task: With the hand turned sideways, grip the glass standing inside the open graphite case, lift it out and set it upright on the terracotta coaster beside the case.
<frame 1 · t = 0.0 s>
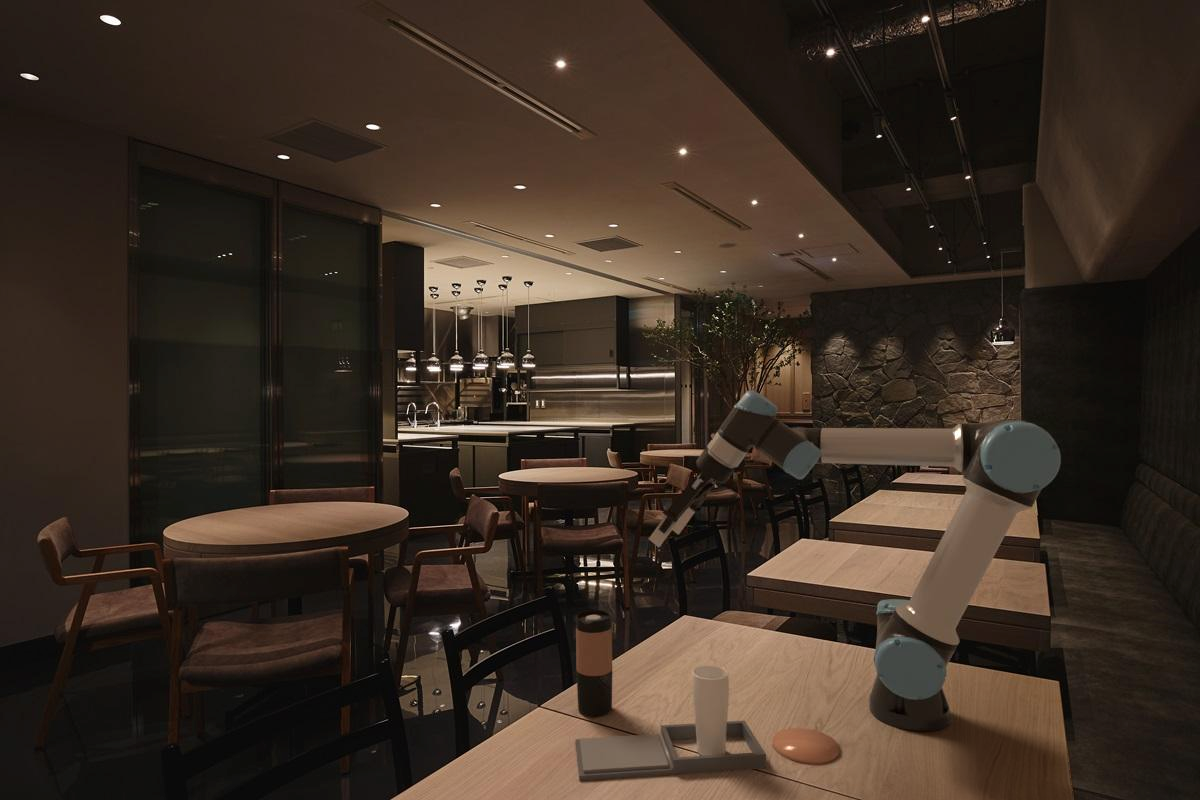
hand: (664, 536, 147), 36 cm above the table, tool tilted 35°, fingers open, 13 cm apart
open case: (711, 752, 126), on the table
travel mug: (595, 710, 144), on the table
coaster: (805, 746, 128), on the table
drinking glass: (711, 753, 126), resting in open case
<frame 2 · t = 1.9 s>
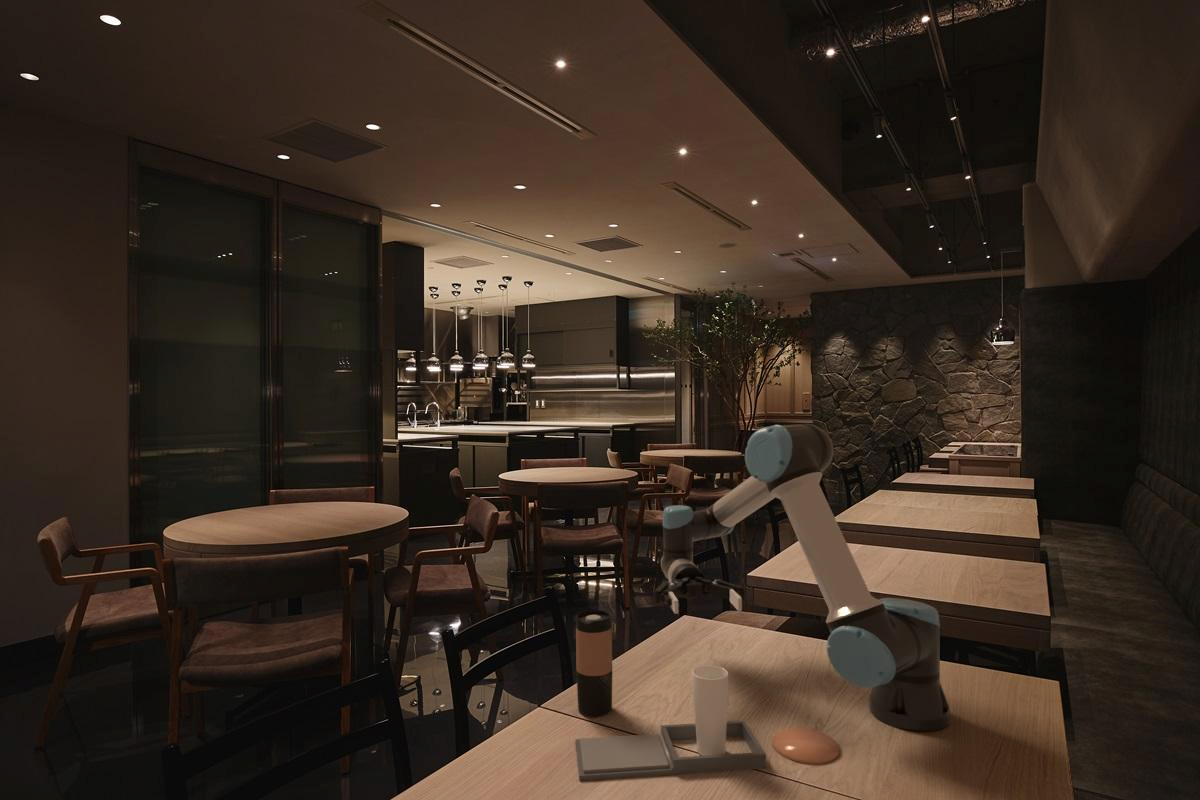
hand: (708, 605, 143), 22 cm above the table, tool horizontal, fingers open, 13 cm apart
nothing on the table moved.
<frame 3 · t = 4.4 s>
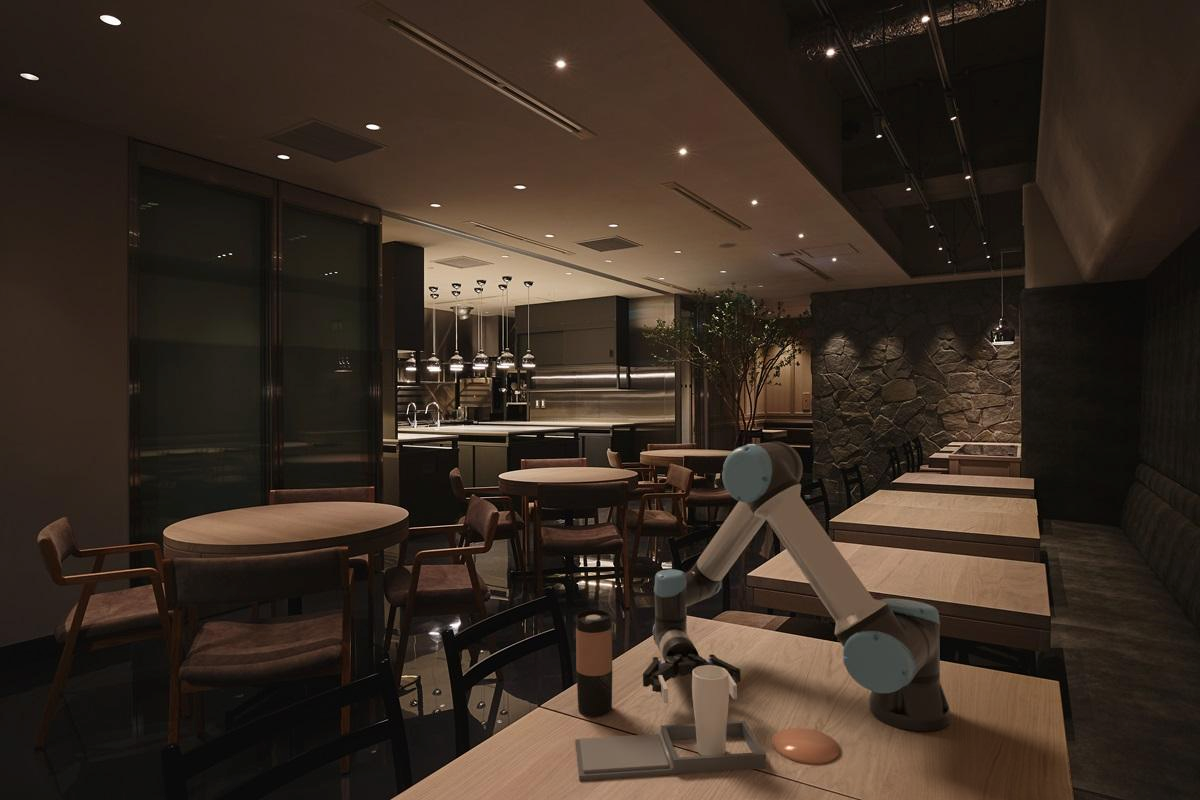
hand: (700, 694, 132), 8 cm above the table, tool horizontal, fingers open, 13 cm apart
nothing on the table moved.
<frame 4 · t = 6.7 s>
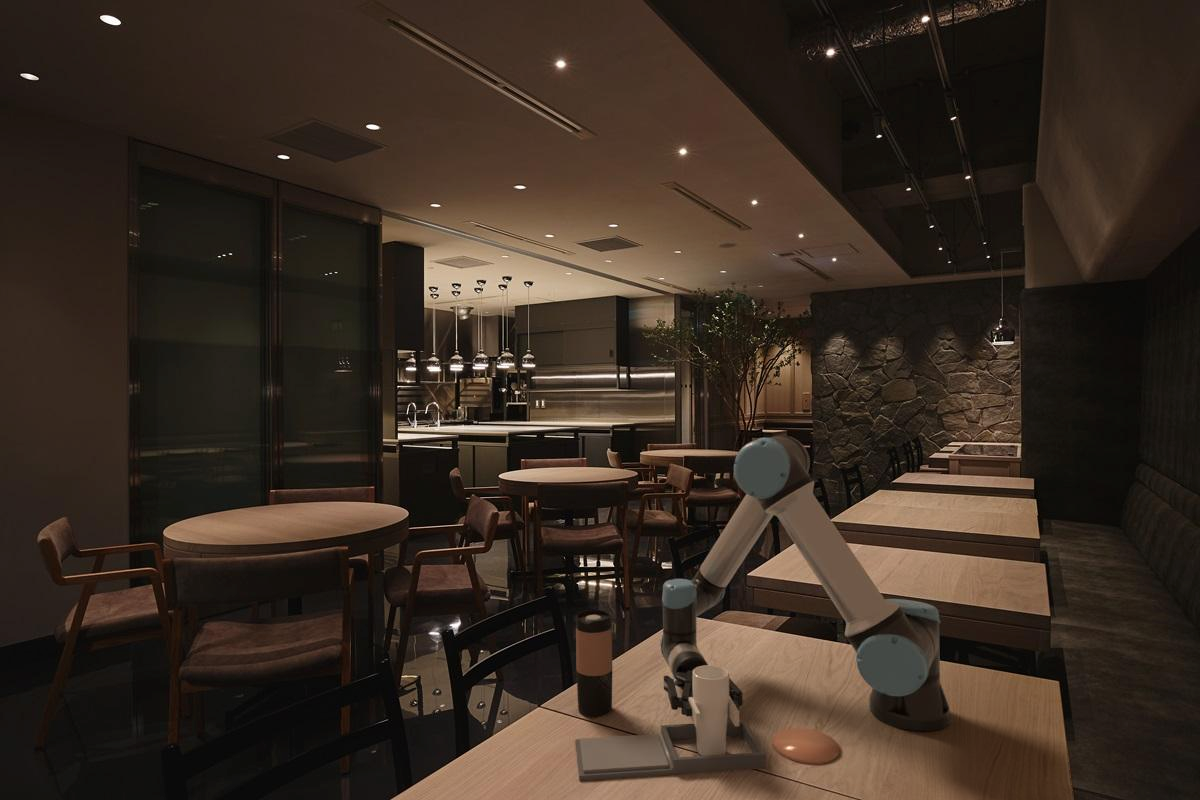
hand: (717, 719, 121), 9 cm above the table, tool horizontal, fingers closed on drinking glass, 6 cm apart
drinking glass: (711, 753, 126), resting in open case, touching gripper
everything else where it was.
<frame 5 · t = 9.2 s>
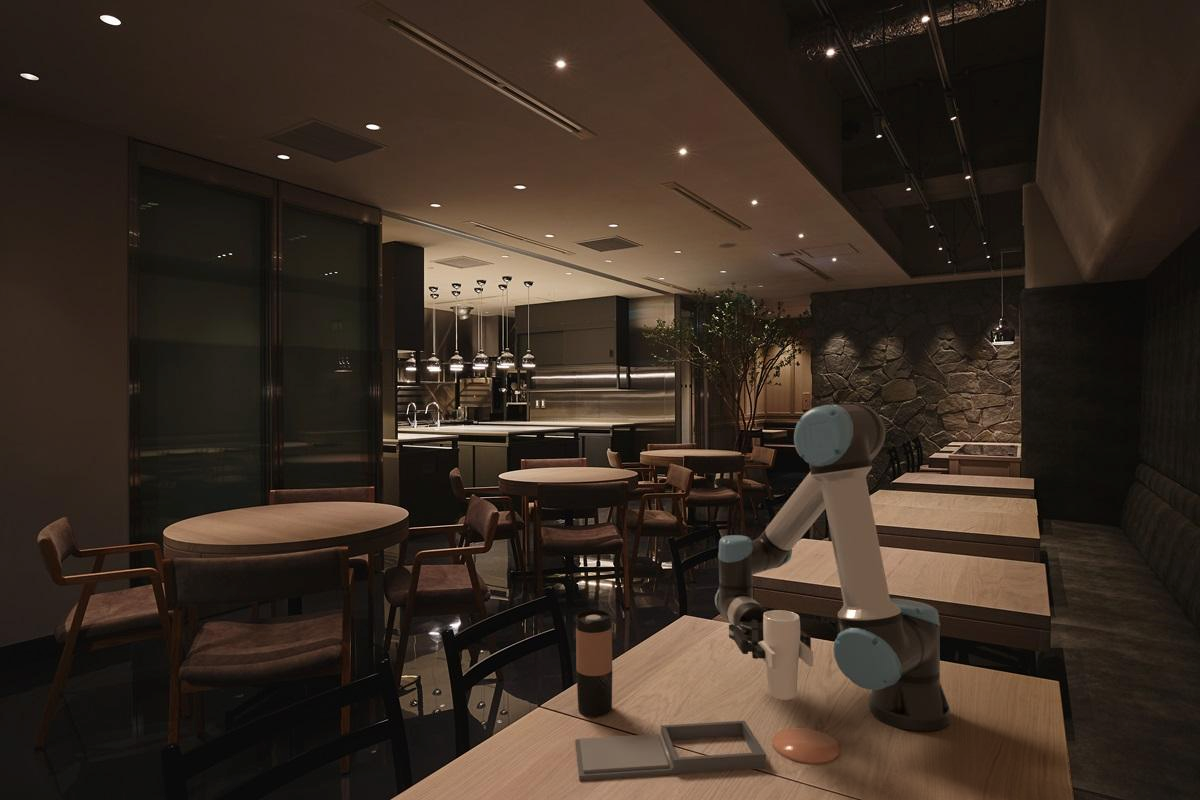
hand: (792, 660, 123), 18 cm above the table, tool horizontal, fingers closed on drinking glass, 6 cm apart
drinking glass: (782, 696, 128), point 9 cm above the table, touching gripper
everything else where it was.
when the fingers open (10 cm above the table, at t = 11.9 s): drinking glass drops 1 cm, resting on coaster.
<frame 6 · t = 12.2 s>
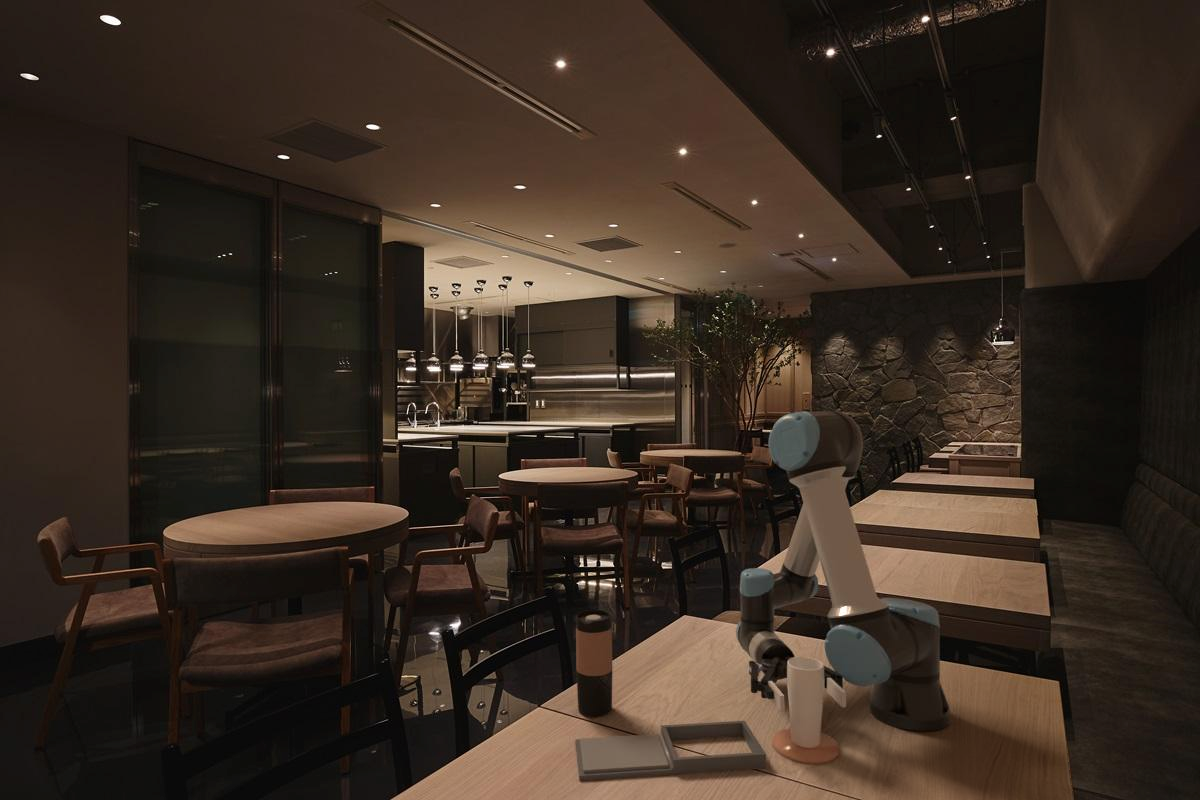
hand: (813, 701, 124), 10 cm above the table, tool horizontal, fingers open, 11 cm apart
drinking glass: (805, 743, 128), resting on coaster
everything else where it was.
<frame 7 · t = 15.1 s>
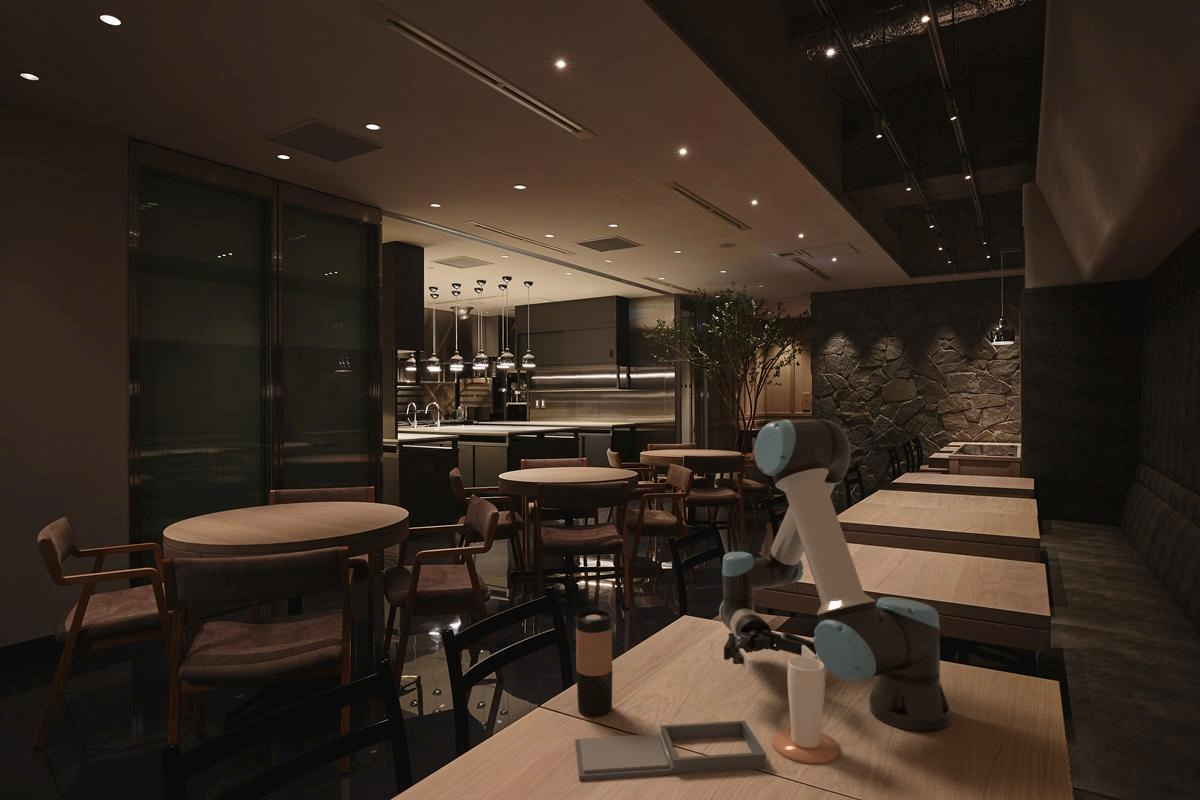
hand: (783, 665, 138), 11 cm above the table, tool horizontal, fingers open, 13 cm apart
nothing on the table moved.
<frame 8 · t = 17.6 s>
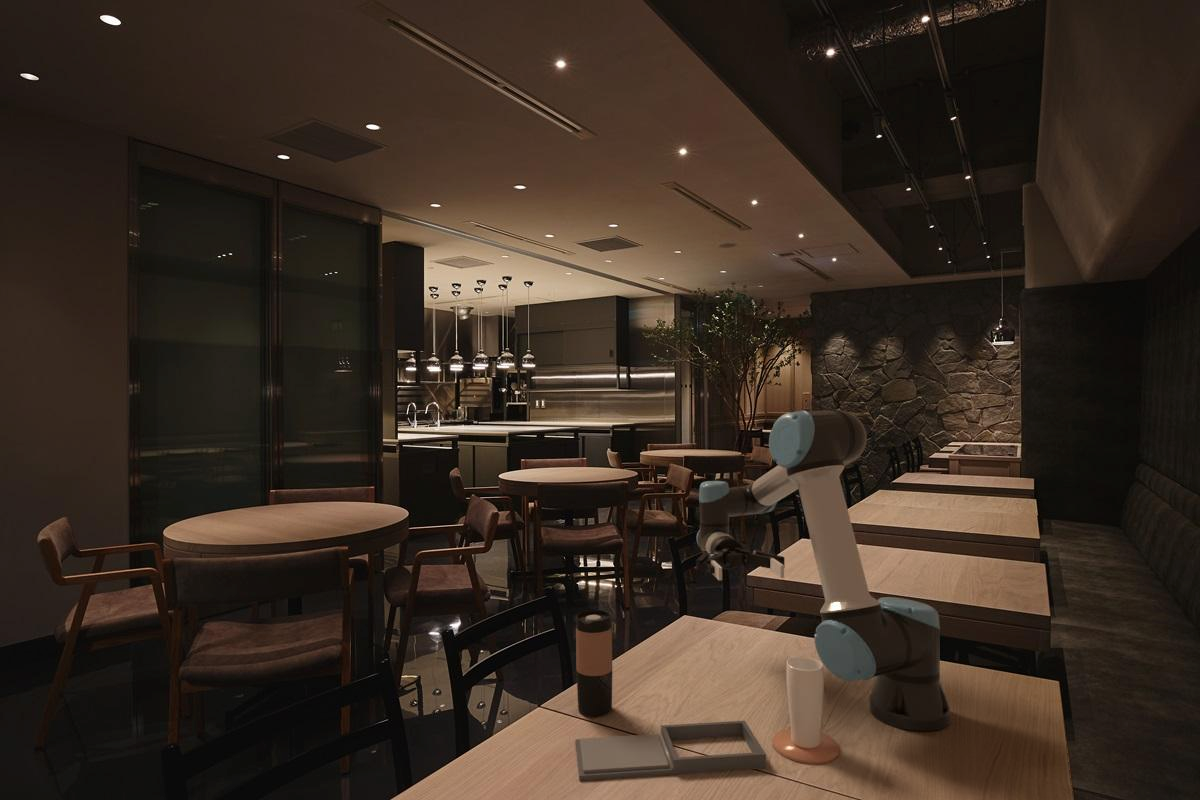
hand: (751, 573, 146), 28 cm above the table, tool horizontal, fingers open, 13 cm apart
nothing on the table moved.
at the end: drinking glass 0.2 cm off-centre on the coaster, point 0.4 cm above the coaster's base; drinking glass tilted 1°; the gripper is holding nothing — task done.
